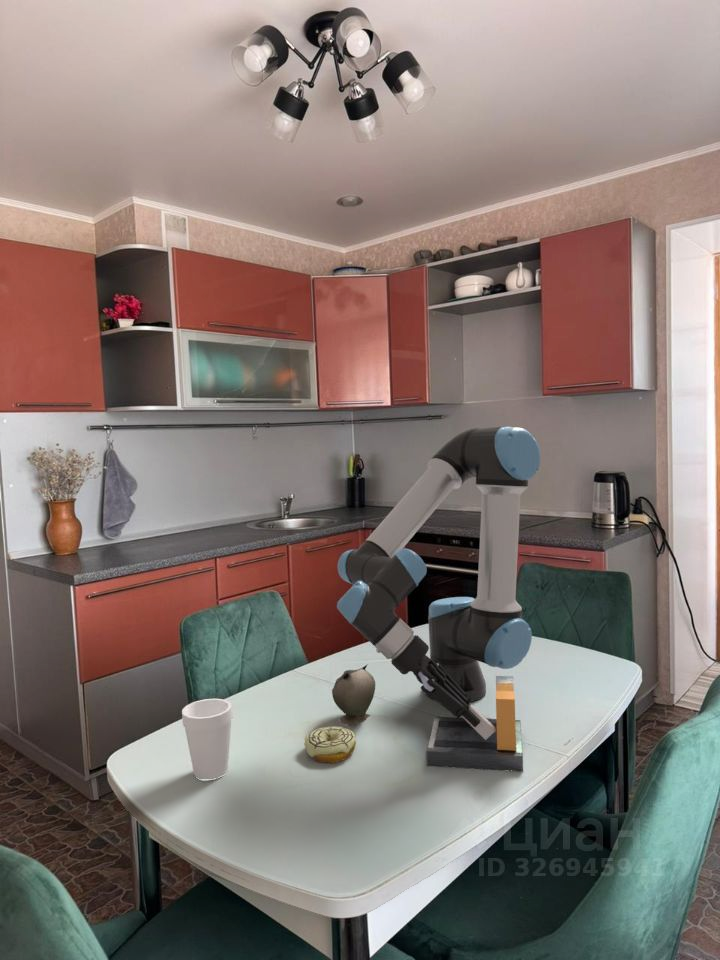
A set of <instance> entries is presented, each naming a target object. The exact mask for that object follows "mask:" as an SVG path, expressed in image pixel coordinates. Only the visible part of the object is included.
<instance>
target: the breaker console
mask: <svg viewBox="0 0 720 960" xmlns="http://www.w3.org/2000/svg"><path fill="white" fill-rule="evenodd" d="M514 685H515V684H514V676H513V675H495V692H496V691H514V692H515V689H514ZM486 719H487V720H488V721H489V722H490V723H491V724H492V725H493V726H494V727H495V728H496V729H495V732H494V733H493V734H492V735H491V736H489V737H488V738H487V739H486V740H485V739H484V738H483V737H482V736H481V735H480V734H479V733H478V732H477V731H476V730H475V729H474V728H473V727H472V726H471V725H470V724H469V723H468V722H467V721H466V720H465V719H464V718H463V717H460V718H459V719H457V718H456V717H455V716H454V717H453V716H434V718H433V722H432V723H433V724H432V727H431V732H430V737H429V741H428V745H427V749H426V760H427V761H426V763H427V764H426V766H427V767H435V766H436V767H437V768H438V766H439V768H452V767H455V769H469V770H475V769H476V770H487V771H489V770H490V771H503V770H509V772H520V771H523V772H524V758H523V757H524V756H523V755H524V754H523V740H522V726H521V725H522V724H521V719H515V728H516V751H513V750H497V720H496V719H495V718H486ZM470 768H471V769H470ZM488 769H489V770H488ZM511 770H512V771H511Z"/></svg>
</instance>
